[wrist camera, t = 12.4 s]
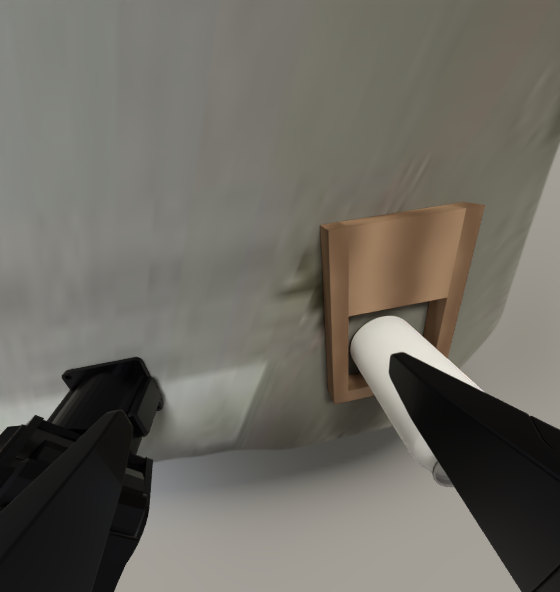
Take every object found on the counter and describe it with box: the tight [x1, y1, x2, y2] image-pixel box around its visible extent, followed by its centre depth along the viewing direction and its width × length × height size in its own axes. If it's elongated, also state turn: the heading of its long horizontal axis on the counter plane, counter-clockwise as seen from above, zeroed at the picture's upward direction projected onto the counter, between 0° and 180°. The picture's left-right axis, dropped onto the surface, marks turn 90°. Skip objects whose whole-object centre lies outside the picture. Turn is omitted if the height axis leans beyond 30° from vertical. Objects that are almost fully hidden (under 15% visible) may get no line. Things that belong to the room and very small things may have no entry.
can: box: [350, 316, 484, 487], centre depth 20 cm, size 6×6×12 cm
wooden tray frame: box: [320, 202, 485, 404], centre depth 23 cm, size 12×18×2 cm, turn 7°
